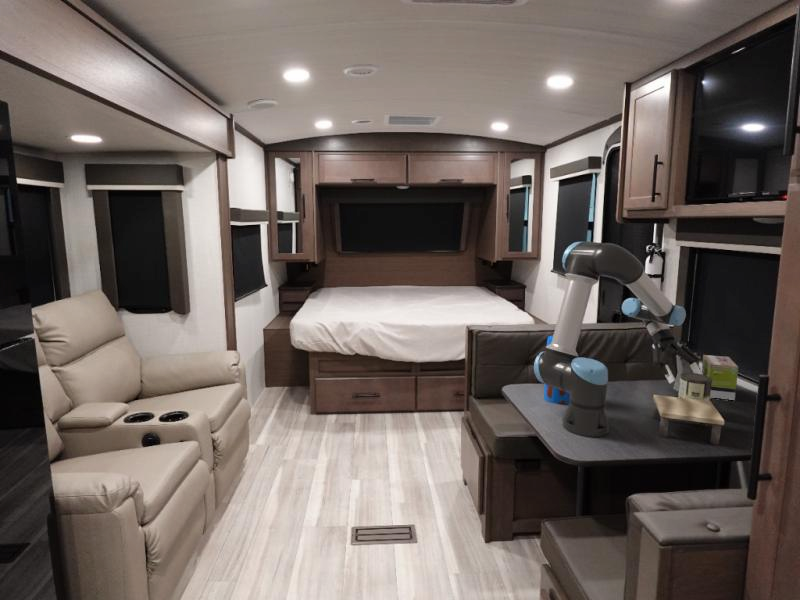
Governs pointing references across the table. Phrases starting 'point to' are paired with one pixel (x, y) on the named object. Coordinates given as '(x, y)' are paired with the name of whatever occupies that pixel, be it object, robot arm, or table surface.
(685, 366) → the coffeepot
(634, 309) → the robot arm
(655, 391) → the table surface
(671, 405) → the small wooden table
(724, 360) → the tea box
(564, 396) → the thermos
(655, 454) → the table surface
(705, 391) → the coffee can
